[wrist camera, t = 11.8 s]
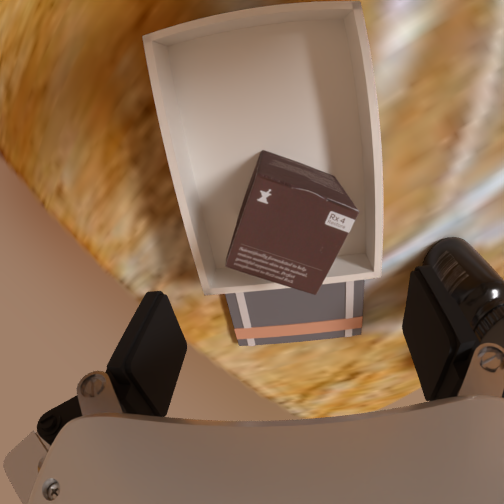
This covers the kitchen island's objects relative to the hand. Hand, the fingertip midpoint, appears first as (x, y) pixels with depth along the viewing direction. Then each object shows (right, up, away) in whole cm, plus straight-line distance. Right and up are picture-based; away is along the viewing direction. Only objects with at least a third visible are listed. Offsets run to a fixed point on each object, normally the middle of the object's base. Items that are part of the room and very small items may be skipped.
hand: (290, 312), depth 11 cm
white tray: (0, +11, +12) cm, 16 cm away
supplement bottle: (+20, +1, +18) cm, 26 cm away
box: (+1, +6, +12) cm, 14 cm away
